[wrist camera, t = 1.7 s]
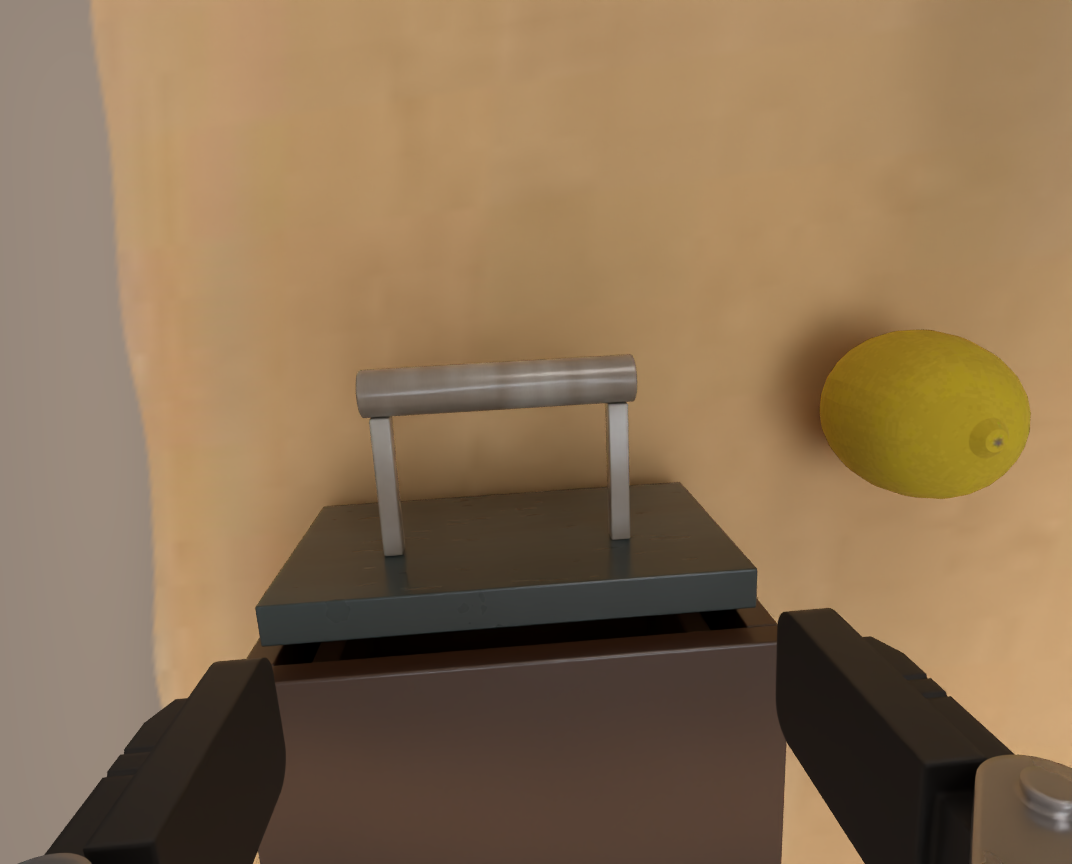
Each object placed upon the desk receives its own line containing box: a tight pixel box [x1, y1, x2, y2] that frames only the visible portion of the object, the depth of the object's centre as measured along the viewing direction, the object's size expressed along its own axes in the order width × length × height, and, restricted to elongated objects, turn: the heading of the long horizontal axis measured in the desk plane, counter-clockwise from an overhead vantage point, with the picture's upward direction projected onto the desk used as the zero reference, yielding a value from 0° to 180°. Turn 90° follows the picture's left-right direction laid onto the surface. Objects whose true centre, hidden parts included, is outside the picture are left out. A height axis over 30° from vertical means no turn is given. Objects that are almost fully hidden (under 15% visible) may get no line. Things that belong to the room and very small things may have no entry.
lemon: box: [819, 330, 1031, 499], centre depth 23 cm, size 6×6×8 cm
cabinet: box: [247, 598, 786, 864], centre depth 25 cm, size 17×15×10 cm
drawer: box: [255, 354, 757, 663], centre depth 24 cm, size 21×14×8 cm, turn 3°
